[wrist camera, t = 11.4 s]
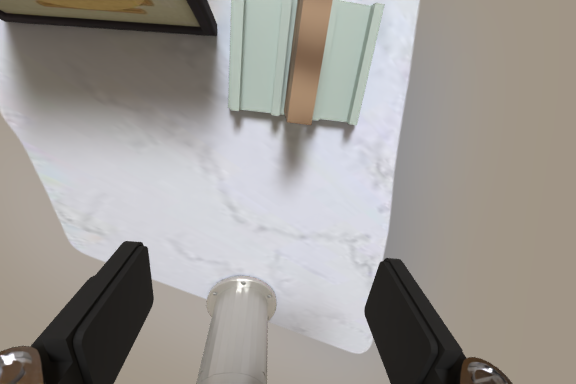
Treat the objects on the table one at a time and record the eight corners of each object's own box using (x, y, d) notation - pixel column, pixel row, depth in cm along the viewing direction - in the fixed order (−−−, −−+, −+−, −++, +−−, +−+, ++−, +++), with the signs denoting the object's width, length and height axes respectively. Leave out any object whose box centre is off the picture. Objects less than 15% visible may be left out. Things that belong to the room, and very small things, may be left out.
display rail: (354, 121, 37) (360, 125, 34) (229, 106, 35) (226, 109, 32) (379, 10, 31) (388, 5, 29) (233, -15, 29) (229, -22, 27)
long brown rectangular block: (304, 113, 35) (313, 125, 27) (283, 110, 34) (287, 122, 27) (321, 3, 30) (338, -18, 22) (297, -2, 29) (306, -24, 22)
